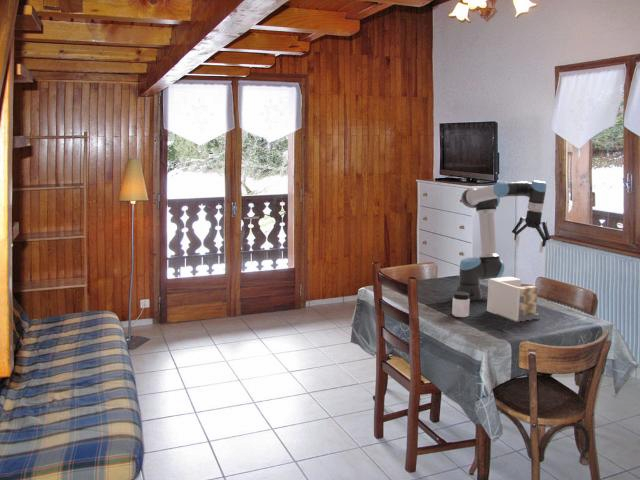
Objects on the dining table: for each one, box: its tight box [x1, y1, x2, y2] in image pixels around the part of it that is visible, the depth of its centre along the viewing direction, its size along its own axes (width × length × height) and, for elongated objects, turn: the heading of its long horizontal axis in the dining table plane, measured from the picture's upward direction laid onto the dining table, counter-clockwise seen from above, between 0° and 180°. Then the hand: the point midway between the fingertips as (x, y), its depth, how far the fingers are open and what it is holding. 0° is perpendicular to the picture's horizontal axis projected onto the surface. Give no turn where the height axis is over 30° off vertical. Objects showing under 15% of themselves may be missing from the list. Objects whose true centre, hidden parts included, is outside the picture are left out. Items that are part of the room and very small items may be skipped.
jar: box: [451, 291, 471, 318], centre depth 337 cm, size 9×8×12 cm
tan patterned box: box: [519, 285, 539, 315], centre depth 332 cm, size 12×4×16 cm, turn 113°
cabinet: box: [486, 276, 540, 323], centre depth 339 cm, size 16×23×18 cm, turn 24°
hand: (528, 249), depth 339 cm, fingers open, 13 cm apart
